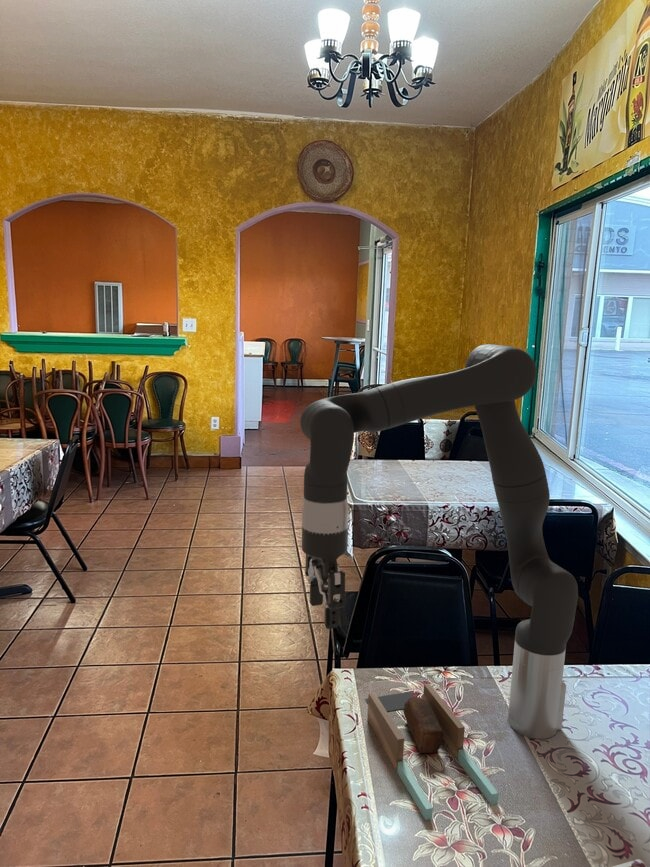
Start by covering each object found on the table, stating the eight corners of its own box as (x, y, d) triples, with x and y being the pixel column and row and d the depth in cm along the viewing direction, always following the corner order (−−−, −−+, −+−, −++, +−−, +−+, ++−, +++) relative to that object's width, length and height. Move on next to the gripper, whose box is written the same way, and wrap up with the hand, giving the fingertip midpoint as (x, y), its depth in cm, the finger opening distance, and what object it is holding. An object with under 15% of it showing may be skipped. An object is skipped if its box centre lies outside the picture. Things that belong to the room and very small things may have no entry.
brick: (440, 754, 115) (444, 731, 114) (419, 754, 115) (423, 732, 114) (421, 714, 126) (425, 693, 124) (402, 715, 125) (405, 694, 124)
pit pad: (409, 692, 134) (409, 691, 134) (420, 706, 129) (420, 705, 129) (364, 700, 131) (364, 698, 131) (373, 714, 126) (373, 713, 126)
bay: (463, 758, 115) (464, 748, 114) (497, 803, 104) (498, 793, 104) (397, 772, 111) (397, 762, 110) (425, 820, 100) (426, 809, 100)
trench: (427, 710, 128) (429, 683, 127) (462, 756, 115) (464, 727, 114) (367, 721, 124) (368, 693, 123) (396, 770, 111) (397, 739, 110)
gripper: (362, 536, 99) (359, 632, 102) (333, 508, 112) (331, 595, 116) (315, 540, 97) (314, 639, 100) (291, 512, 110) (291, 600, 113)
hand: (323, 615), depth 108 cm, fingers open, 8 cm apart
